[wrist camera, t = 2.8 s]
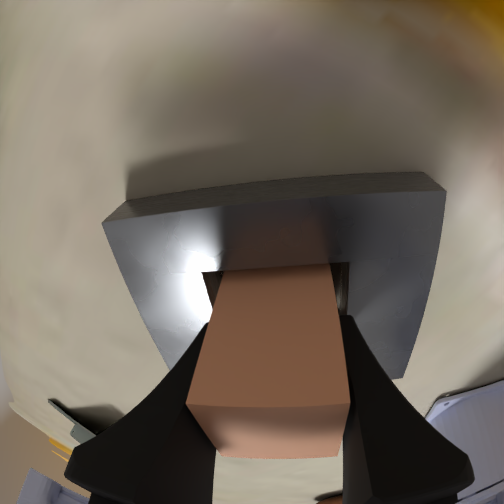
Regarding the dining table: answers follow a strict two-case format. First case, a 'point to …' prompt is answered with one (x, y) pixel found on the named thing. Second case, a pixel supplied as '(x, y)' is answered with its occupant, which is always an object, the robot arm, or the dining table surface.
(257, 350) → the square peg
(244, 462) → the dining table surface
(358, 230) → the socket plate
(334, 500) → the ceramic jug
